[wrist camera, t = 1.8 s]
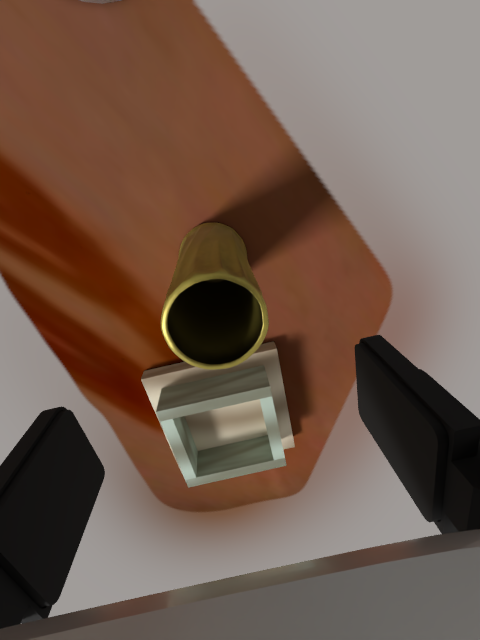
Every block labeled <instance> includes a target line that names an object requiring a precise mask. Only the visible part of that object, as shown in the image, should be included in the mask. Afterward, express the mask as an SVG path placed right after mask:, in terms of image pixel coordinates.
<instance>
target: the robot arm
mask: <svg viewBox="0 0 480 640" xmlns="http://www.w3.org/2000/svg"><path fill="white" fill-rule="evenodd" d="M80 1H83V2H92V3H109V2H115V1H121V0H80ZM355 360H356V377H357V392H358V408H359V414H360V417H361V419H362V421H363V422H364V424H365V426H366V427H367V429H368V430H369V432H370V433H371V435H372V436H373V438H374V440H375V441H376V443H377V444H378V446H379V447H380V449H381V451H382V452H383V454H384V455H385V457H386V458H387V460H388V462H389V463H390V465H391V466H392V468H393V469H394V471H395V473H396V474H397V476H398V477H399V479H400V480H401V482H402V483H403V485H404V487H405V488H406V490H407V491H408V493H409V494H410V496H411V498H412V499H413V501H414V502H415V504H416V506H417V507H418V508H419V510H420V512H421V513H422V515H423V516H424V518H425V519H426V520H427V521H428V522H433V521H434V522H435V524H436V525H437V527H438V528H439V530H440V532H441V533H442V534H440V535H434V536H429V537H424V538H418V539H413V540H408V541H403V542H398V543H393V544H387V545H382V546H377V547H372V548H367V549H361V550H357V551H352V552H347V553H343V554H338V555H333V556H329V557H324V558H319V559H315V560H310V561H305V562H300V563H296V564H291V565H286V566H281V567H277V568H272V569H267V570H263V571H259V572H253V573H249V574H245V575H239V576H235V577H230V578H226V579H221V580H217V581H212V582H208V583H203V584H198V585H194V586H189V587H185V588H180V589H175V590H171V591H167V592H162V593H157V594H153V595H148V596H143V597H139V598H135V599H130V600H125V601H121V602H116V603H112V604H108V605H103V606H99V607H95V608H90V609H86V610H81V611H76V612H72V613H68V614H64V615H58V616H54V617H50V618H48V615H49V613H50V610H51V608H52V605H54V604H55V603H56V602H57V600H58V599H59V597H60V594H61V592H62V589H63V587H64V584H65V581H66V578H67V575H68V573H69V570H70V568H71V565H72V562H73V560H74V557H75V554H76V552H77V549H78V546H79V544H80V541H81V538H82V536H83V533H84V530H85V527H86V525H87V522H88V520H89V517H90V514H91V512H92V509H93V506H94V504H95V501H96V498H97V496H98V493H99V490H100V487H101V485H102V482H103V479H104V475H105V471H104V467H103V465H102V463H101V461H100V459H99V458H98V456H97V454H96V453H95V451H94V449H93V447H92V445H91V444H90V442H89V440H88V439H87V437H86V435H85V433H84V431H83V430H82V428H81V426H80V425H79V423H78V421H77V419H76V417H75V416H74V414H73V412H72V411H71V410H67V409H66V408H64V407H58V408H53V409H49V410H45V411H43V412H41V413H40V415H39V416H38V417H37V418H36V420H35V421H34V422H33V424H32V425H31V426H30V427H29V429H28V430H27V431H26V433H25V434H24V435H23V437H22V438H21V439H20V441H19V442H18V443H17V445H16V446H15V447H14V448H13V450H12V451H11V452H10V454H9V455H8V456H7V458H6V459H5V460H4V462H3V463H2V464H1V466H0V640H480V419H478V418H477V417H476V416H475V415H474V414H473V413H472V412H470V411H469V410H468V409H467V408H466V407H465V406H463V405H462V404H461V403H460V402H459V401H458V400H457V399H456V398H454V397H453V396H452V395H451V394H450V393H449V392H448V391H446V390H445V389H444V388H443V387H442V386H441V385H439V384H438V383H437V382H436V381H435V380H434V379H433V378H432V377H430V376H429V375H428V374H427V373H426V372H424V371H422V370H420V369H418V368H417V367H416V366H414V365H413V364H412V363H411V362H410V361H409V360H408V359H407V358H405V357H404V356H403V355H402V354H401V353H400V352H399V351H398V350H396V349H395V348H394V347H393V346H392V345H391V344H390V343H389V342H387V341H386V340H385V339H384V338H383V337H382V336H380V335H375V336H371V337H366V338H362V339H360V342H359V344H356V345H355ZM21 623H22V624H21Z"/></svg>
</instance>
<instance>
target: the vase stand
mask: <svg viewBox="0 0 480 640" xmlns="http://www.w3.org/2000/svg"><path fill="white" fill-rule="evenodd" d="M141 381H142V383H143V385H144V387H145V390H146V392H147V394H148V397H149V399H150V401H151V404H152V406H153V408H154V411H155V413H156V415H157V417H158V420H159V422H160V424H161V427H162V429H163V431H164V434H165V436H166V438H167V441H168V443H169V445H170V447H171V450H172V452H173V454H174V457H175V459H176V461H177V464H178V466H179V468H180V471H181V472H182V474H183V476H184V478H185V481H186V483H187V485H188V487H193V486H197V485H202V484H206V483H211V482H215V481H220V480H224V479H228V478H233V477H237V476H242V475H246V474H251V473H255V472H260V471H264V470H269V469H273V468H278V467H282V466H286V461H285V456H284V451H283V449H287V448H291V447H295V445H294V440H293V434H292V429H291V423H290V418H289V412H288V407H287V401H286V396H285V391H284V385H283V380H282V374H281V369H280V363H279V358H278V353H277V348H276V345H275V343H274V341H273V342H269V343H265V344H261V345H260V347H259V348H258V349H257V350H256V351H255V352H254V353H253V354H252V355H251V356H250V357H249V358H248V359H247V360H245V361H244V362H242V363H240V364H238V365H236V366H234V367H231V368H226V369H216V370H210V369H202V368H198V367H195V366H192V365H190V364H188V363H186V362H181V363H177V364H173V365H168V366H164V367H159V368H155V369H151V370H146V371H144V373H143V375H142V378H141Z"/></svg>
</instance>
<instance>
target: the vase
mask: <svg viewBox="0 0 480 640" xmlns="http://www.w3.org/2000/svg"><path fill="white" fill-rule="evenodd" d="M247 259H248V258H247V251H246V247H245V244H244V242H243V240H242V238H241V237H240V236H239V235H238V234H237V233H236V232H235V231H234V230H233V229H232V228H231V227H229V226H226V225H224V224H221V223H204V224H201V225H198V226H197V227H195V228H193V229H192V230H191V231H190V232H189V233H188V234H187V235H186V236H185V237H184V239H183V241H182V243H181V246H180V250H179V259H178V262H177V265H176V269H175V272H174V275H173V278H172V282H171V285H170V287H169V289H168V292H167V295H166V299H165V303H164V306H163V311H162V316H161V330H162V333H163V336H164V338H165V340H166V342H167V344H168V346H169V347H170V348H171V350H172V351H173V352H174V353H175V354H176V355H177V356H178V357H179V358H181V359H182V360H183V361H185V362H186V363H188V364H190V365H192V366H195V367H198V368H202V369H210V370H216V369H226V368H231V367H234V366H236V365H238V364H240V363H242V362H244V361H245V360H247V359H248V358H249V357H250V356H251V355H252V354H253V353H254V352H255V351H256V350H257V349H258V348H259V347H260V345H261V344H262V342H263V340H264V338H265V336H266V333H267V331H268V323H269V321H268V313H267V307H266V303H265V301H264V299H263V296H262V292H261V290H260V287H259V285H258V283H257V281H256V279H255V277H254V274H253V272H252V270H251V267H250V265H249V263H248V260H247Z"/></svg>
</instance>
